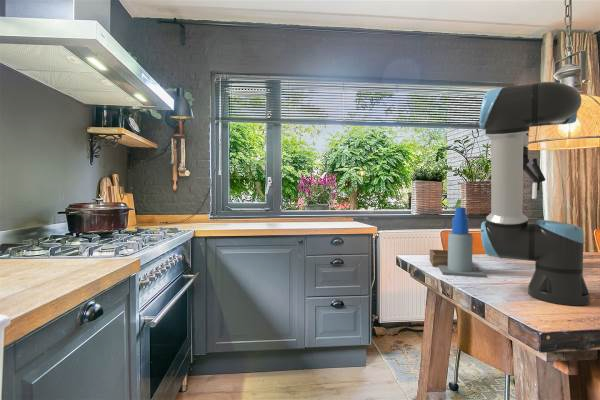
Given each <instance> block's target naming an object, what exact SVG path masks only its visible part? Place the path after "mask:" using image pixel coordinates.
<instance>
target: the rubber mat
mask: <svg viewBox="0 0 600 400" xmlns="http://www.w3.org/2000/svg"><path fill="white" fill-rule="evenodd" d="M438 269H439V270H440V272H441V274H442V275H443V276H455V277H456V276H457V277H458V276H459V277H475V278H487V277H486V276H487V275H486V274H485V273H484V272H483V271H482V270H481V269H480V268H479V267H477V266H472V271H471V272H456V271H451V270H449V269H448V266H445V265H439V267H438Z"/></svg>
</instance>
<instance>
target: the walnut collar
mask: <svg viewBox="0 0 600 400" xmlns="http://www.w3.org/2000/svg"><path fill="white" fill-rule="evenodd" d="M429 262H430V264H431V266H432V267H433V268H439V265H445V266H448V249H429Z"/></svg>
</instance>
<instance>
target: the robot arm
mask: <svg viewBox="0 0 600 400" xmlns="http://www.w3.org/2000/svg"><path fill="white" fill-rule="evenodd" d="M581 105H582V96H581V93H580V92H579V91H578V90H577V89H576V88H575V87H573V86H572V85H568V84H565V83H561V82H554V81H542V82H541V81H540V82H536V83H529V84H522V85H520V84H519V85H513V86H507V87H503V86H502V87H499V88H494V89H490V90H488V91H487V92H485V93H484V96H483V98H482V101H481V105H480V113H479V129H481V130H484V131H485V132H484V133H485V134H484V135H485V136H486V137H487V138H489V139H490V172H491V173H490V175H489V177H488V180H489V181H491V182H490V185H491V186H490V190H491V193H490V195H491V196H490V200H491V201H490V203H491V204H490V206H491V207H490V209H491V210H490V211H491V212H490V213H489V214H488V215H487V216H486V217H485V218H486V219H485V221H482V222H481V224H480V235H481V236H480V238H481V243H482V248H483V250H484V253H485V254H486V255H487V256H488V257H492V258H493V257H494V258H499V259H509V260H518V261H530V262H531V261H532V262H535V265H534V267H535V269H534V272H533V274H532V277H531V279H530V282H529V284H528V285H527V286H528V287H527V294H528V295H529V296H530V297H532V298H535V299H536V300H540V301H543V302H547V303H552V304H558V305H564V306H565V305H566V306H585V305H589V304H590V302H591V299H590V291H589V289H588V287H587V283H586V280H585V278H584V245H585V239H584V238H585V236H584V229H583V228H582V227H580V226H579V225H576V224H572V223H567V222H566V223H565V222H561V221H554V220H548V219H547V220H545V219H537V220H536V222H535V223H529V218H528V217H527V215H525V214H524V213H523V200H524V199H523V195H524V194H523V192H524V189H523V186H524V183H523V181H524V176H523V175H524V172H525V173H526V174H527V175H528V176H529V177H530V179H531V180H533V182H532V184H531V186H532V191H531V199H533V200H536V199H537V196H538V195H537V193H538V191H540V188H541V182H545V181H546V178H545V175H544V173H543V172H542V170H541V168H540V166H539V164H538V159H537V158H530V159H529V145H530V144H529V137H530V134H529V133H530V128H531V127H532V128H533V127H542V126H555V125H557V126H558V125H568V124H574V123H575V122H577V118H578V112H579V109H580V108H581ZM528 164H530V165H531V167H532V168H533V170H534V172H535V173H534V172H533V171H532V170H531V169H530V167H529V166H528Z"/></svg>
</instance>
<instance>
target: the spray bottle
mask: <svg viewBox="0 0 600 400" xmlns="http://www.w3.org/2000/svg"><path fill="white" fill-rule="evenodd" d="M454 210H455V213H454V217H452V221H451V222H452V224H451V226H452V228H451V230H452V231H451V232H448V234H447V250H448V269H449V270H451V271H456V272H471V271H472V267H473V238H474V236H473V234H472V233H471V232H470V233H469V230H470V229H469V228H470V227H469V226H470V225H469V223H470V222H469V221H470V220H469V218H468V217H467V208H466V207H464V206H463V207H461V206H460V207H459V206H455V209H454Z"/></svg>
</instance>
